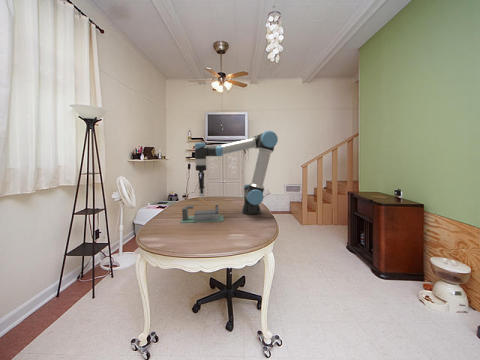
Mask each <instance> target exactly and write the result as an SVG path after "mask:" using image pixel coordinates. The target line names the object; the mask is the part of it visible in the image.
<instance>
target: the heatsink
mask: <svg viewBox="0 0 480 360" xmlns="http://www.w3.org/2000/svg"><path fill="white" fill-rule="evenodd" d="M214 207H215V209H216V210H215V209H204V210H203V209H202V210H198V209H197V210H195V211H194V215H193V216H194V221H214V220H219V215H220V212H219V205H218V204H216V205H215V206H214Z"/></svg>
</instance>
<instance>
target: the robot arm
mask: <svg viewBox="0 0 480 360" xmlns="http://www.w3.org/2000/svg"><path fill="white" fill-rule="evenodd" d="M278 139H279V137H278V136H277V134H276V132H274V131H272V130H266V131H263V132H262V133H260V134H258V135H257V134H256V135H255V136H252V137H251V138H250V137H249V138H246V139H242V140H238V141H234V142H229V143H224V144H220V145H219V144H218V145H217V144H216V145H207V144H206V143H205V142H195V144H194V158H195V160H194V163H195V171H198V175H197V176H198V183H199V185H198V190H199V197H200V198H201V199H203V198H205V190H204V189H205V182H204V181H205V180H204V179H205V171H207V157H223V155H226V154H227V155H228V154H231V153H235V152H241V151H244V150H249V149H255V150H256V149H257V150H258V154H257V159H256V162H255V166H254V171H253V175H252V179H251V182H250V183H249V184H245V185H244V186H243V192H244V193H243V197H244V199H243V200H244V202H243V206H242V211H241V212H242V214H244V215H247V216H255V215H260V214H261V213H262V211H261V206H260V204H262V203H263V201H264V197H265V196H264V191H265V187H264V182H265V178H266V174H267V170H268V165H269V162H270V158H271V154H272V153H274V150H275V146H276V145H277V144H278Z"/></svg>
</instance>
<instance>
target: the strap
mask: <svg viewBox="0 0 480 360" xmlns="http://www.w3.org/2000/svg"><path fill="white" fill-rule="evenodd" d="M197 199H198V200H199V201H201V202H202V203H204V204H206V205H207V206H209V207H210V208H212V210H216V209H215V207H216V206H214V205H213V204H211V203H210V202H208V201H206V200H205V199H203V198H200V196H198V198H197Z"/></svg>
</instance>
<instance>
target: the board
mask: <svg viewBox="0 0 480 360" xmlns="http://www.w3.org/2000/svg"><path fill="white" fill-rule="evenodd" d="M180 220H181V221H179V223H180V224H186V223H187V224H188V223H189V224H190V223H214V222H215V223H216V222H218V223H219V222H224V215H223V214H221V215H220V214H219V220H214V221H194V215H191V216H190V215H188V219H187V220H183V218H182V219H180Z"/></svg>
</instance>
